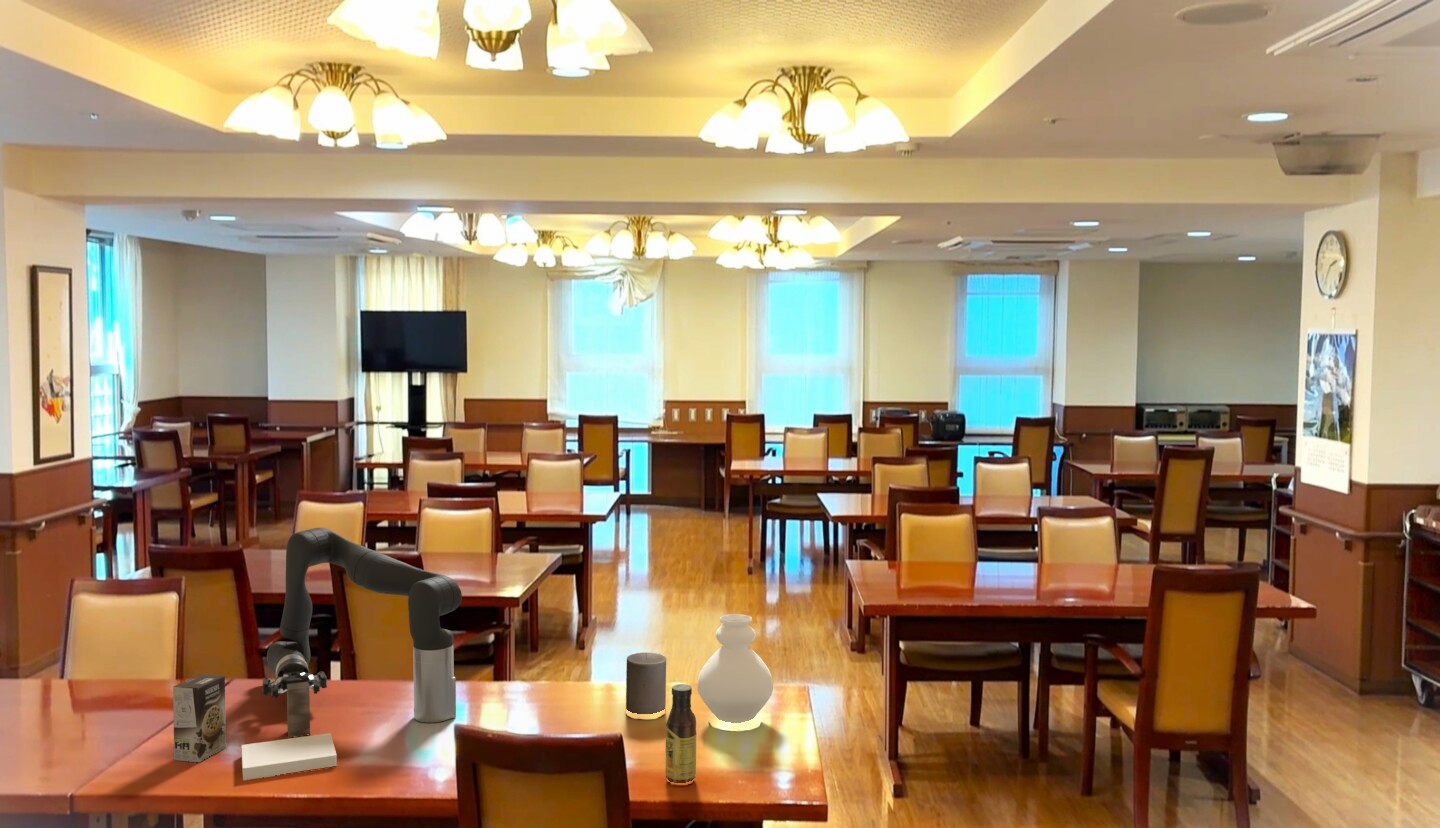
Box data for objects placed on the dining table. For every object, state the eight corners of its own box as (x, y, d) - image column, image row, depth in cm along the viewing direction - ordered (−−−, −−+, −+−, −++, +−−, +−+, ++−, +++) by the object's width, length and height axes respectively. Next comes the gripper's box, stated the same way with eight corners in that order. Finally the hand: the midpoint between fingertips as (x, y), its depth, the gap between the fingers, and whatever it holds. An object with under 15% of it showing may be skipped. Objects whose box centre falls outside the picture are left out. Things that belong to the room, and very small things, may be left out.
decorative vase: (767, 738, 245) (768, 629, 244) (690, 733, 248) (691, 625, 247) (776, 712, 263) (778, 610, 261) (704, 707, 266) (705, 607, 264)
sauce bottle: (664, 775, 224) (665, 681, 222) (695, 775, 224) (695, 680, 223) (665, 788, 217) (666, 691, 216) (697, 788, 218) (697, 690, 216)
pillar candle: (617, 715, 260) (618, 654, 258) (641, 704, 268) (642, 644, 267) (650, 723, 254) (651, 661, 253) (674, 711, 263) (674, 651, 262)
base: (330, 744, 240) (330, 733, 240) (336, 766, 227) (336, 755, 227) (241, 756, 232) (241, 745, 232) (242, 780, 220) (242, 768, 219)
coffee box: (199, 763, 228) (198, 688, 227) (173, 760, 230) (171, 686, 229) (227, 747, 237) (226, 675, 236) (201, 745, 239) (200, 673, 238)
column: (308, 728, 249) (307, 681, 249) (310, 735, 245) (309, 687, 245) (287, 731, 247) (286, 684, 247) (288, 738, 243) (287, 689, 243)
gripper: (260, 661, 265) (262, 679, 250) (322, 654, 271) (328, 672, 256) (261, 691, 266) (263, 711, 251) (323, 684, 272) (328, 703, 257)
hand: (296, 691), depth 254 cm, fingers open, 8 cm apart
